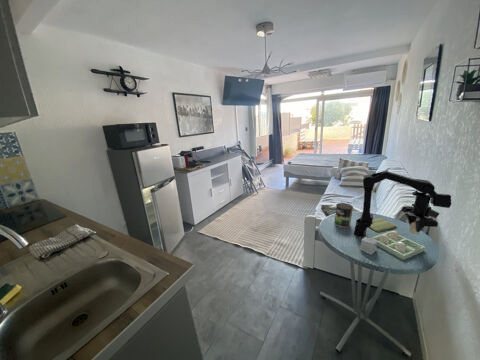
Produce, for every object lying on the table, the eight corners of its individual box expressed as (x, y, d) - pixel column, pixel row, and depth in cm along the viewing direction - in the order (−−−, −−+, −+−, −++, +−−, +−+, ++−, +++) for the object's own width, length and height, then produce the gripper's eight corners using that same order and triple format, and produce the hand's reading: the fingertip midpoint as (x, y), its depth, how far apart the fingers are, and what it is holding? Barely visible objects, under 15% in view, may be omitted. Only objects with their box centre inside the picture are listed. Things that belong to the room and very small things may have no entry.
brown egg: (412, 234, 109) (415, 224, 108) (407, 229, 114) (409, 220, 112) (421, 234, 109) (424, 224, 107) (415, 230, 113) (418, 220, 111)
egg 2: (394, 243, 116) (396, 233, 115) (386, 239, 120) (388, 230, 119) (399, 241, 118) (401, 232, 116) (391, 237, 122) (393, 228, 120)
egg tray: (402, 261, 103) (404, 255, 102) (369, 242, 119) (370, 237, 118) (423, 252, 109) (425, 247, 108) (389, 235, 125) (390, 231, 124)
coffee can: (343, 229, 134) (345, 210, 130) (331, 222, 143) (333, 204, 139) (353, 225, 138) (356, 207, 134) (341, 219, 147) (343, 201, 143)
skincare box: (371, 256, 108) (373, 244, 106) (359, 250, 112) (361, 239, 110) (376, 251, 111) (378, 240, 109) (364, 246, 116) (366, 235, 114)
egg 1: (384, 246, 114) (386, 237, 112) (377, 242, 117) (378, 233, 116) (389, 244, 115) (391, 235, 113) (382, 240, 119) (383, 231, 117)
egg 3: (401, 255, 106) (403, 245, 104) (392, 251, 110) (394, 241, 108) (406, 253, 107) (408, 243, 106) (397, 248, 111) (399, 239, 110)
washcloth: (360, 225, 140) (361, 221, 139) (379, 220, 144) (380, 216, 143) (377, 234, 128) (378, 230, 127) (398, 229, 132) (399, 225, 131)
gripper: (454, 212, 96) (445, 240, 101) (424, 197, 114) (418, 221, 119) (428, 211, 98) (421, 239, 102) (403, 197, 115) (398, 221, 120)
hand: (414, 229), depth 111 cm, fingers closed on brown egg, 4 cm apart
